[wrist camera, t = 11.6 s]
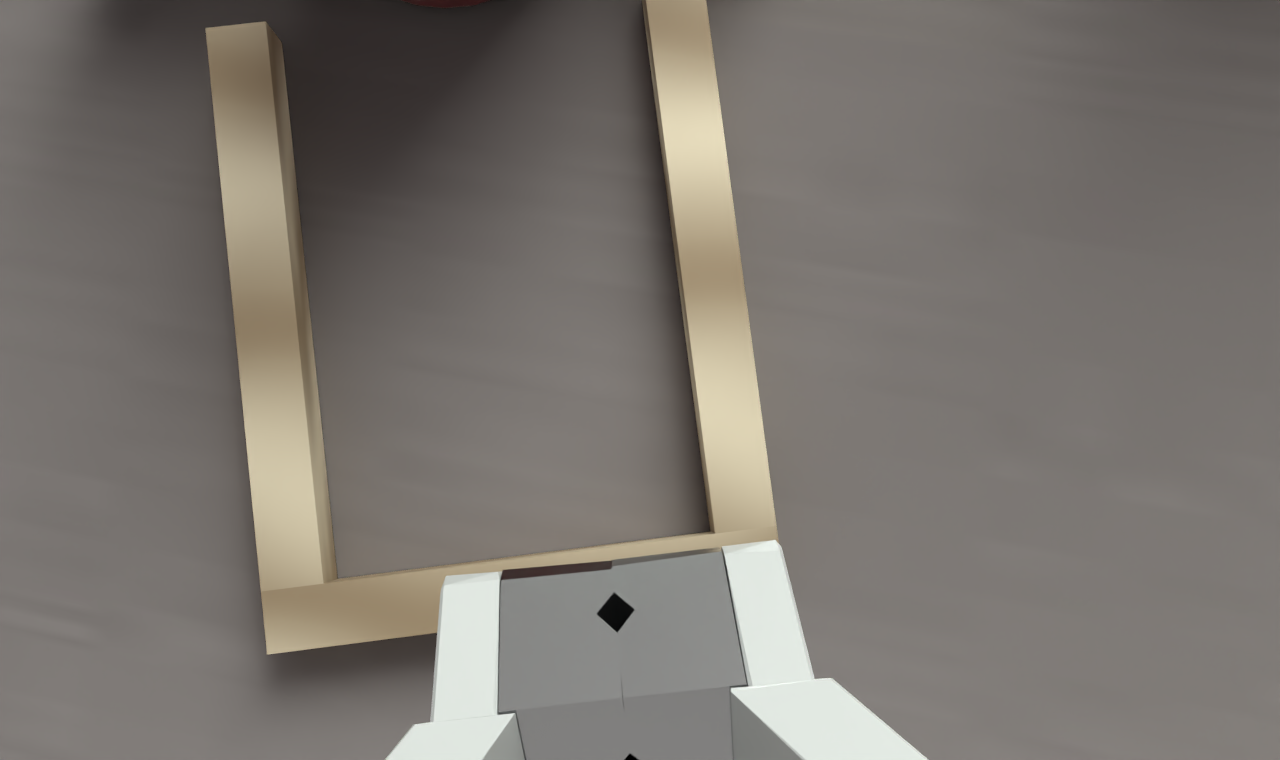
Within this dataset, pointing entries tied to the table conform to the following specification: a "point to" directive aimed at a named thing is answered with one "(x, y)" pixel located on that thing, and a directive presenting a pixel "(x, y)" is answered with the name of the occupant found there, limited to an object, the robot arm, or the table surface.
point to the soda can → (445, 3)
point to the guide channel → (285, 363)
